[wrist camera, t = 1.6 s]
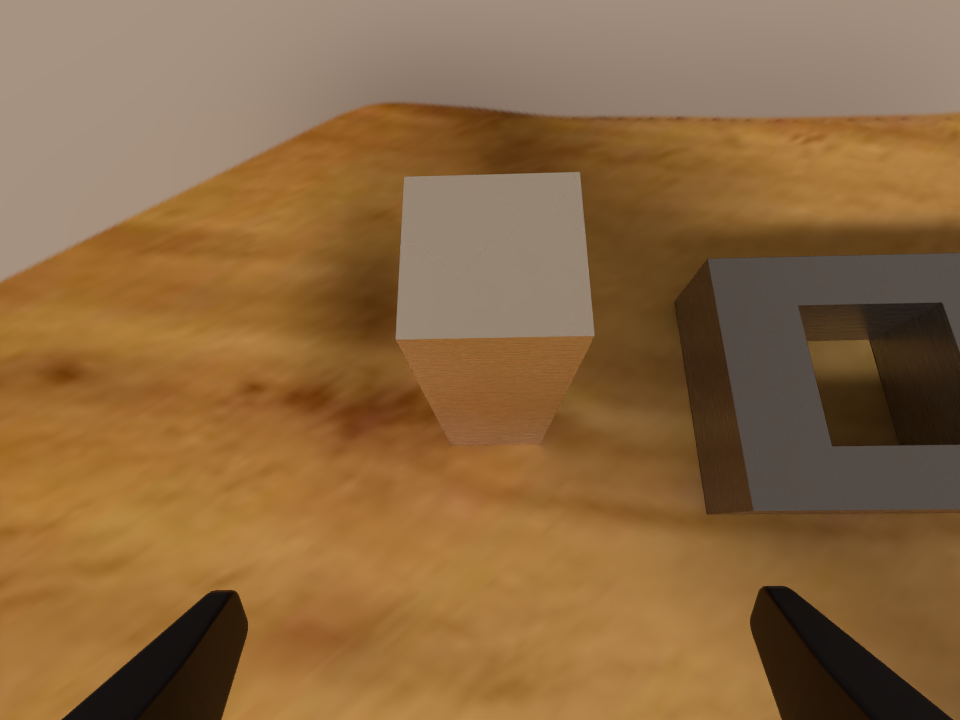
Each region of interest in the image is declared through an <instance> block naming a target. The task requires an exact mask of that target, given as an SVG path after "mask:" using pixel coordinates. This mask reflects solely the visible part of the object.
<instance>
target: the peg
mask: <svg viewBox="0 0 960 720" xmlns="http://www.w3.org/2000/svg"><path fill="white" fill-rule="evenodd" d="M594 336H595V334H594V323H593V312H592V301H591V290H590V279H589V268H588V256H587V245H586V234H585V223H584V212H583V201H582V190H581V179H580V172H561V173H525V174H489V175H453V176H417V177H404V189H403V208H402V227H401V246H400V265H399V284H398V303H397V322H396V341H397V343H398V345H399V347H400V349H401V351H402V353H403V355H404V357H405V358H406V360H407V362H408V364H409V366H410V368H411V370H412V372H413V374H414V375H415V377H416V379H417V381H418V383H419V385H420V387H421V389H422V391H423V393H424V394H425V396H426V398H427V400H428V402H429V404H430V406H431V408H432V410H433V411H434V413H435V415H436V417H437V419H438V421H439V423H440V425H441V427H442V429H443V430H444V432H445V434H446V436H447V438H448V440H449V442H450V444H451V445H520V444H541V442H542V440H543V438H544V436H545V434H546V432H547V430H548V428H549V426H550V424H551V422H552V420H553V418H554V416H555V414H556V412H557V410H558V408H559V406H560V404H561V402H562V400H563V398H564V396H565V394H566V392H567V390H568V388H569V386H570V384H571V382H572V380H573V378H574V376H575V374H576V372H577V370H578V368H579V366H580V364H581V362H582V360H583V358H584V356H585V354H586V352H587V350H588V348H589V346H590V344H591V342H592V340H593V338H594Z"/></svg>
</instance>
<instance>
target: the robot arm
mask: <svg viewBox="0 0 960 720" xmlns="http://www.w3.org/2000/svg"><path fill="white" fill-rule="evenodd" d="M750 626H751V631H752V635H753V638H754V640H755V643H756V646H757V649H758V652H759V655H760V658H761V661H762V664H763V667H764V669H765V672H766V675H767V678H768V681H769V684H770V687H771V690H772V693H773V696H774V698H775V701H776V704H777V707H778V710H779V713H780V716H781V719H782V720H953V719H952V718H950V717H949V716H948V715H947V714H946V713H944V712H943V711H942V710H941V709H939V708H938V707H937V706H936V705H934V704H933V703H932V702H931V701H929V700H928V699H927V698H926V697H924V696H923V695H922V694H921V693H919V692H918V691H917V690H916V689H915V688H913V687H912V686H911V685H910V684H908V683H907V682H906V681H905V680H903V679H902V678H901V677H900V676H898V675H897V674H896V673H895V672H893V671H892V670H891V669H890V668H888V667H887V666H886V665H885V664H884V663H882V662H881V661H880V660H879V659H877V658H876V657H875V656H874V655H872V654H871V653H870V652H869V651H867V650H866V649H865V648H864V647H862V646H861V645H860V644H859V643H857V642H856V641H855V640H854V639H853V638H851V637H850V636H849V635H848V634H846V633H845V632H844V631H843V630H841V629H840V628H839V627H838V626H836V625H835V624H834V623H833V622H831V621H830V620H829V619H828V618H826V617H825V616H824V615H823V614H821V613H820V612H819V611H818V610H817V609H815V608H814V607H813V606H812V605H810V604H809V603H808V602H807V601H805V600H804V599H803V598H802V597H800V596H799V595H798V594H797V593H795V592H794V591H793V590H791V589H790V588H788V587H785V586H764V587H762V588H761V589H760V590H759V592H758V595H757V598H756V601H755V604H754V608H753V611H752V614H751V618H750ZM247 631H248V621H247V617H246V614H245V611H244V609H243V606H242V603H241V600H240V597H239V595H238V593H237V592H236V591H234V590H215V591H211V592H210V593H208V594H207V595H205V596H204V597H203V598H202V599H201V600H199V601H198V602H197V603H196V604H195V605H194V606H192V607H191V608H190V609H189V610H188V611H187V612H186V613H184V614H183V615H182V616H181V617H180V618H179V619H177V620H176V621H175V622H174V623H173V624H172V625H171V626H169V627H168V628H167V629H166V630H165V631H164V632H162V633H161V634H160V635H159V636H158V637H157V638H155V639H154V640H153V641H152V642H151V643H150V644H149V645H147V646H146V647H145V648H144V649H143V650H142V651H140V652H139V653H138V654H137V655H136V656H135V657H134V658H132V659H131V660H130V661H129V662H128V663H127V664H125V665H124V666H123V667H122V668H121V669H120V670H118V671H117V672H116V673H115V674H114V675H113V676H112V677H110V678H109V679H108V680H107V681H106V682H105V683H103V684H102V685H101V686H100V687H99V688H98V689H97V690H95V691H94V692H93V693H92V694H91V695H90V696H88V697H87V698H86V699H85V700H84V701H83V702H81V703H80V704H79V705H78V706H77V707H76V708H75V709H73V710H72V711H71V712H70V713H69V714H68V715H66V716H65V717H64V718H63V719H62V720H221V719H222V716H223V713H224V709H225V706H226V703H227V699H228V696H229V693H230V689H231V686H232V683H233V679H234V676H235V673H236V669H237V666H238V663H239V659H240V656H241V653H242V650H243V646H244V643H245V640H246V636H247Z"/></svg>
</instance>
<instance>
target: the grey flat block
mask: <svg viewBox="0 0 960 720" xmlns="http://www.w3.org/2000/svg"><path fill="white" fill-rule="evenodd" d="M675 306H676V312H677V319H678V326H679V332H680V339H681V345H682V352H683V359H684V365H685V372H686V378H687V385H688V392H689V398H690V405H691V411H692V418H693V425H694V431H695V438H696V444H697V451H698V458H699V464H700V471H701V477H702V484H703V491H704V497H705V504H706V510H707V514H826V513H944V512H960V253H936V254H892V255H848V256H805V257H761V258H717V259H707V260H706V262H705V263H704V264H703V266H702V267H701V268H700V269H699V271H698V272H697V273H696V275H695V276H694V277H693V278H692V280H691V281H690V282H689V284H688V285H687V286H686V287H685V289H684V290H683V291H682V293H681V294H680V295H679V296H678V298H677V299H676V300H675ZM821 340H870V342H871V346H872V349H873V353H874V356H875V360H876V363H877V366H878V370H879V373H880V377H881V380H882V384H883V387H884V391H885V394H886V398H887V401H888V405H889V408H890V412H891V415H892V419H893V422H894V426H895V429H896V433H897V436H898V440H899V443H900V446H832V444H831V440H830V436H829V431H828V427H827V423H826V419H825V415H824V411H823V407H822V402H821V398H820V394H819V390H818V386H817V382H816V378H815V374H814V369H813V365H812V361H811V357H810V353H809V349H808V345H807V341H821Z"/></svg>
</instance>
